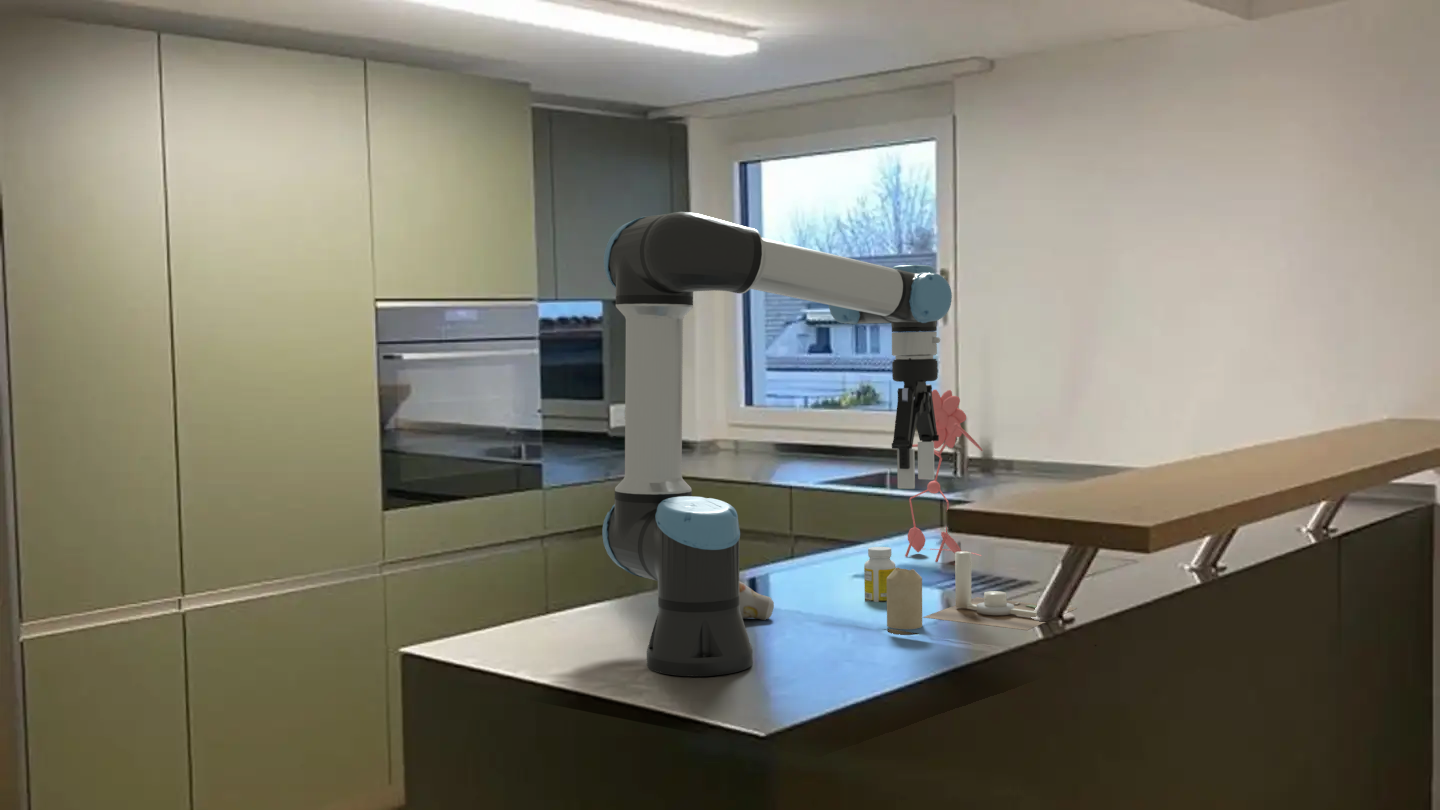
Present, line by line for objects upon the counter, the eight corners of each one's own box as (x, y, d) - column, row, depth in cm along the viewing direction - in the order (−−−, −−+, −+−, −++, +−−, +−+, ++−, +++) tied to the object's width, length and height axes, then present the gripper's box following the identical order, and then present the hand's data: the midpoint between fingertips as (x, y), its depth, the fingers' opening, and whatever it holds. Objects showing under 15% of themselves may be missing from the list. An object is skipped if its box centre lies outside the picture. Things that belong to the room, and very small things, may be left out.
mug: (779, 625, 227) (749, 574, 224) (727, 649, 229) (697, 599, 227) (782, 605, 234) (753, 556, 232) (731, 628, 236) (702, 580, 234)
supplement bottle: (900, 602, 242) (899, 546, 242) (890, 608, 237) (890, 551, 237) (870, 600, 245) (869, 545, 244) (860, 606, 240) (859, 549, 239)
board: (1027, 636, 214) (1027, 628, 214) (922, 623, 225) (922, 615, 225) (1077, 614, 230) (1077, 606, 230) (977, 602, 241) (977, 595, 241)
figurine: (962, 568, 276) (964, 391, 275) (876, 552, 297) (877, 388, 296) (1016, 561, 285) (1018, 390, 284) (929, 547, 306) (931, 387, 305)
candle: (928, 630, 220) (927, 567, 219) (912, 636, 215) (912, 572, 215) (897, 626, 223) (896, 564, 222) (880, 633, 218) (880, 569, 218)
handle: (947, 609, 230) (946, 554, 229) (966, 603, 234) (965, 549, 234) (1027, 620, 220) (1027, 563, 219) (1046, 614, 224) (1045, 558, 224)
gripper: (918, 359, 221) (920, 493, 222) (953, 355, 244) (955, 476, 245) (872, 360, 223) (874, 491, 225) (911, 355, 246) (913, 475, 248)
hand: (916, 483), depth 235 cm, fingers open, 13 cm apart
